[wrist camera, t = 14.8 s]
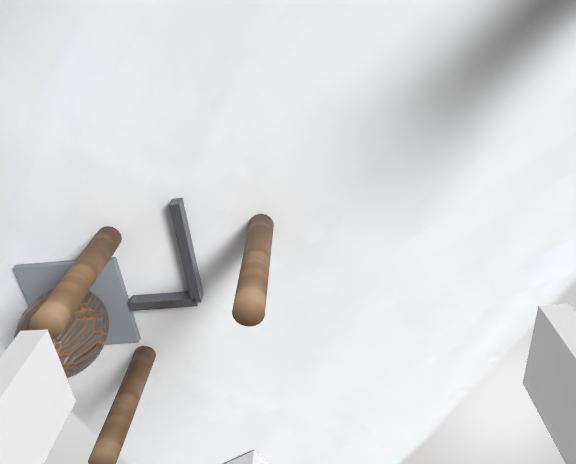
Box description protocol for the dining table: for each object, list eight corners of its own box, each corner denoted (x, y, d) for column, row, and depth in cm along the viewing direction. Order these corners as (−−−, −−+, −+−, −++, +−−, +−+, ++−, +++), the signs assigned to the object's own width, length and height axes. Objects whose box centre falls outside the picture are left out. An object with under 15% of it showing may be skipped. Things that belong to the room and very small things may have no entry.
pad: (16, 264, 43) (12, 268, 43) (115, 257, 43) (113, 260, 42) (49, 344, 47) (46, 348, 47) (140, 338, 47) (138, 342, 46)
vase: (132, 325, 45) (97, 398, 38) (66, 343, 47) (20, 417, 39) (95, 265, 42) (49, 330, 35) (26, 285, 43) (-33, 353, 36)
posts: (94, 227, 41) (24, 315, 31) (272, 213, 40) (262, 298, 30) (137, 362, 48) (92, 472, 38) (289, 352, 47) (287, 462, 37)
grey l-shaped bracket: (105, 204, 40) (100, 210, 39) (182, 198, 40) (179, 204, 39) (135, 302, 45) (131, 310, 44) (204, 297, 44) (201, 305, 43)
